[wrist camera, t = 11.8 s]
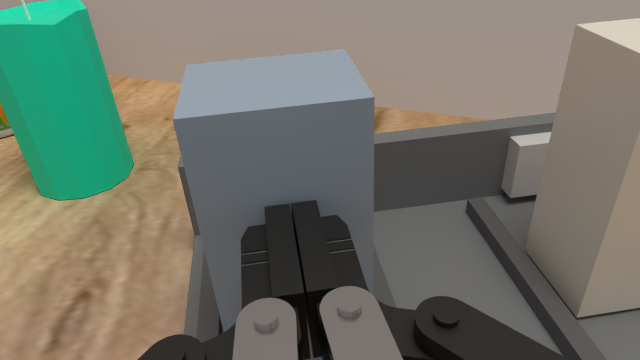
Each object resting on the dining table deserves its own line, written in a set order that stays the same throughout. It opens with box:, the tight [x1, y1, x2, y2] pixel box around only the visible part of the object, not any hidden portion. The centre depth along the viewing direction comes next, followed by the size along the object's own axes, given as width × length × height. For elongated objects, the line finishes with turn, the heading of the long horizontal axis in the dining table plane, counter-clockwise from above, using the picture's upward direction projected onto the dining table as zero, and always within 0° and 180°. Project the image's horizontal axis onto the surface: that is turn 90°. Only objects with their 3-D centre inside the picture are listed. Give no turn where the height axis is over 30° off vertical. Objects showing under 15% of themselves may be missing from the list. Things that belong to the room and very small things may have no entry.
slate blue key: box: [173, 49, 374, 360], centre depth 16 cm, size 5×4×10 cm
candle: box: [0, 0, 134, 200], centre depth 29 cm, size 6×6×12 cm
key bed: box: [178, 113, 640, 360], centre depth 20 cm, size 22×14×5 cm, turn 98°
